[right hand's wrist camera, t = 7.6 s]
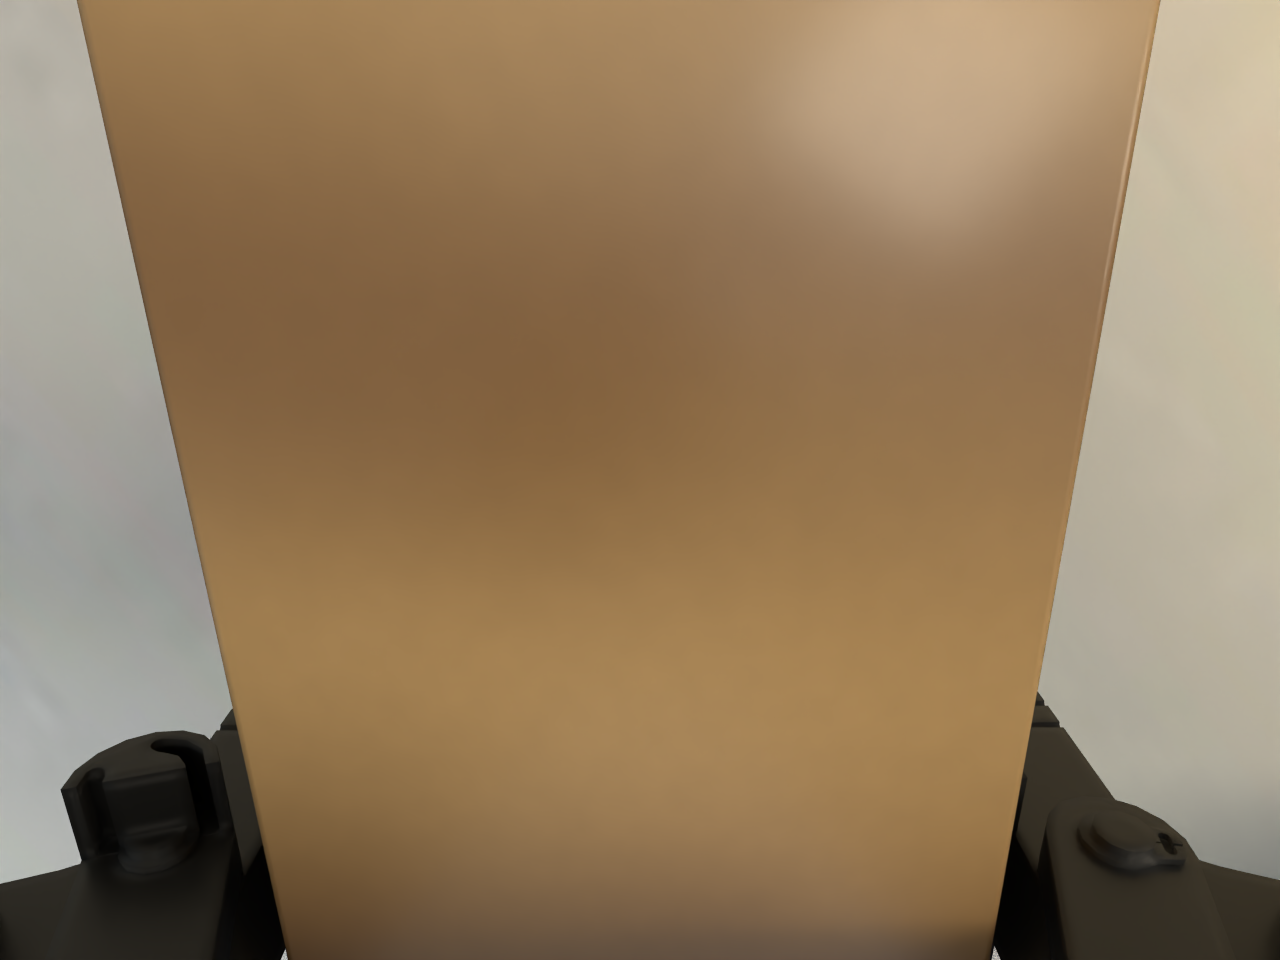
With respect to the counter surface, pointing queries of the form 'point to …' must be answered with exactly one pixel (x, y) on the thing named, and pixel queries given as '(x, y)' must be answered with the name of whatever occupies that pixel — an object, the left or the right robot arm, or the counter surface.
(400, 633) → the beam
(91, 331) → the counter surface
